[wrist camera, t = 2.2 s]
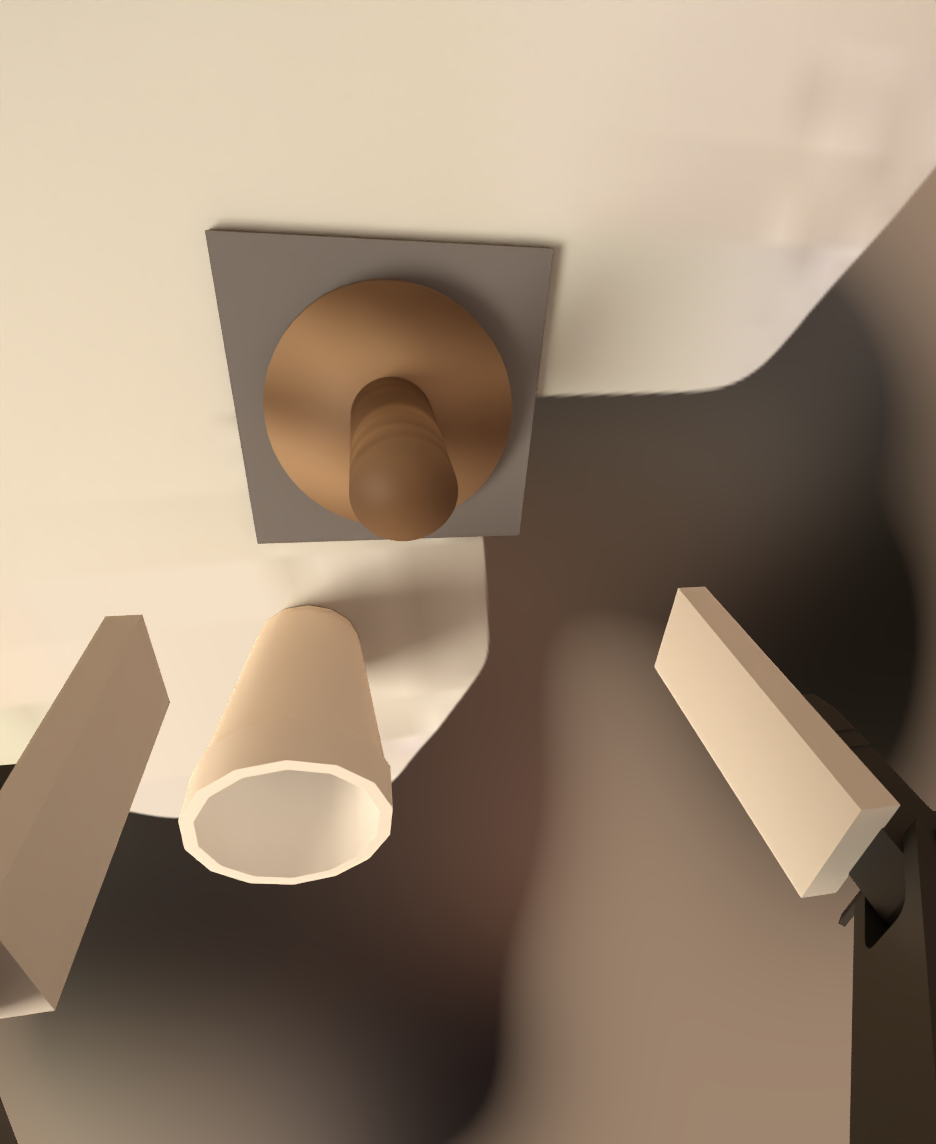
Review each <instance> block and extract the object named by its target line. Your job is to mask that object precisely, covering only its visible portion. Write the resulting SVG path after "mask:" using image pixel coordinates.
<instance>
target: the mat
mask: <svg viewBox="0 0 936 1144" xmlns="http://www.w3.org/2000/svg"><path fill="white" fill-rule="evenodd" d="M205 234H206V240H207V246H208V252H209V257H210V263H211V269H212V275H213V281H214V287H215V293H216V299H217V305H218V311H219V317H220V323H221V329H222V335H223V341H224V347H225V353H226V358H227V364H228V370H229V376H230V382H231V388H232V394H233V400H234V406H235V412H236V418H237V424H238V430H239V436H240V442H241V448H242V454H243V459H244V465H245V471H246V477H247V483H248V489H249V495H250V501H251V507H252V513H253V519H254V525H255V531H256V537H257V543H258V544H263V543H293V542H323V541H354V540H384V539H386V538H383V537H380V536H378V535H376V534H374V533H372V532H371V531H369V530H368V529H367V528H366V527H365V526H363V525H362V524H361V523H360V522H356V521H353V520H349V519H347V518H344V517H342V516H339V515H337V514H335V513H333V512H331V511H329V510H327V509H325V508H324V507H322V506H321V505H319V504H318V503H316V502H315V501H314V500H312V499H311V498H310V497H308V496H307V495H306V494H305V493H304V492H303V491H302V490H301V489H299V487H298V486H297V485H296V484H295V483H294V482H293V481H292V479H291V478H290V477H289V476H288V474H287V473H286V471H285V470H284V468H283V467H282V466H281V464H280V462H279V460H278V458H277V456H276V454H275V452H274V450H273V448H272V445H271V442H270V439H269V437H268V434H267V429H266V424H265V419H264V407H263V396H264V384H265V379H266V374H267V370H268V366H269V364H270V361H271V358H272V356H273V353H274V351H275V349H276V347H277V345H278V343H279V341H280V339H281V338H282V336H283V334H284V332H285V331H286V329H287V328H288V327H289V325H290V324H291V323H292V321H293V320H294V319H295V318H296V317H297V316H298V315H299V314H300V313H301V312H302V311H303V310H304V309H305V308H306V307H307V306H308V305H309V304H311V303H312V302H314V301H315V300H316V299H318V298H319V297H321V296H322V295H324V294H326V293H328V292H330V291H332V290H334V289H336V288H338V287H341V286H344V285H347V284H350V283H353V282H358V281H364V280H369V279H396V280H405V281H409V282H413V283H417V284H421V285H424V286H426V287H429V288H431V289H434V290H436V291H438V292H440V293H442V294H444V295H445V296H447V297H449V298H450V299H452V300H454V301H455V302H456V303H457V304H459V305H460V306H461V307H462V308H464V309H465V310H466V311H467V312H468V313H469V314H470V315H471V316H472V317H473V318H474V319H475V320H476V321H477V322H478V323H479V324H480V325H481V326H482V327H483V329H484V330H485V331H486V333H487V334H488V335H489V337H490V338H491V340H492V341H493V343H494V344H495V346H496V348H497V350H498V352H499V354H500V356H501V358H502V360H503V363H504V366H505V368H506V371H507V375H508V379H509V384H510V388H511V399H512V416H511V424H510V430H509V435H508V439H507V442H506V445H505V448H504V451H503V453H502V455H501V457H500V460H499V462H498V464H497V465H496V467H495V469H494V470H493V472H492V474H491V475H490V476H489V477H488V479H487V480H486V481H485V483H484V484H483V485H482V486H481V487H480V488H479V489H478V490H477V491H476V492H475V493H474V494H473V495H472V496H471V497H470V498H468V499H467V500H466V501H465V502H463V503H462V504H461V505H459V506H458V507H456V508H455V509H454V511H453V513H452V514H451V516H450V518H449V519H448V520H447V521H446V523H445V524H444V525H443V526H442V527H440V528H439V529H438V530H437V531H435V532H433V533H432V534H430V535H428V536H425V537H423V538H445V537H476V536H505V535H519V533H520V524H521V515H522V508H523V499H524V491H525V481H526V474H527V466H528V457H529V448H530V441H531V431H532V423H533V415H534V407H535V399H536V390H537V382H538V374H539V365H540V357H541V348H542V340H543V332H544V323H545V315H546V307H547V298H548V290H549V281H550V273H551V265H552V256H553V249H552V248H543V247H524V246H505V245H486V244H468V243H449V242H430V241H411V240H392V239H373V238H354V237H336V236H317V235H298V234H279V233H260V232H241V231H222V230H205Z"/></svg>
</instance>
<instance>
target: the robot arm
mask: <svg viewBox="0 0 936 1144" xmlns="http://www.w3.org/2000/svg"><path fill="white" fill-rule="evenodd" d="M655 668H656V670H657V672H658V673H659V675H660V676H661V678H662V679H663V681H664V683H665V684H666V686H667V687H668V689H669V690H670V692H671V694H672V695H673V697H674V698H675V700H676V702H677V703H678V705H679V706H680V708H681V709H682V711H683V712H684V714H685V716H686V717H687V719H688V720H689V722H690V723H691V725H692V727H693V728H694V730H695V731H696V733H697V735H698V736H699V738H700V739H701V741H702V742H703V744H704V745H705V747H706V749H707V750H708V752H709V753H710V755H711V757H712V758H713V760H714V761H715V763H716V764H717V766H718V768H719V769H720V771H721V772H722V774H723V776H724V777H725V779H726V780H727V782H728V783H729V785H730V787H731V788H732V790H733V791H734V793H735V794H736V796H737V798H738V799H739V800H740V802H741V804H742V805H743V807H744V808H745V810H746V812H747V813H748V815H749V816H750V818H751V819H752V821H753V823H754V824H755V826H756V827H757V829H758V830H759V832H760V834H761V835H762V837H763V839H764V840H765V842H766V843H767V845H768V846H769V848H770V850H771V851H772V853H773V854H774V856H775V857H776V859H777V861H778V862H779V864H780V865H781V867H782V868H783V870H784V872H785V873H786V875H787V876H788V878H789V879H790V881H791V883H792V884H793V886H794V887H795V889H796V890H797V892H798V894H799V895H800V897H801V898H804V897H810V896H817V895H823V894H830V893H836V892H837V891H838V889H839V888H840V886H841V885H842V884H843V882H844V881H845V880H846V878H847V877H848V876H849V875H850V876H851V878H852V879H853V881H854V882H855V883H856V885H857V886H858V887H859V889H860V891H859V893H858V894H857V895H856V896H855V898H854V899H853V900H852V902H851V903H850V904H849V905H848V907H847V908H846V909H845V910H844V912H843V913H842V915H841V918H840V920H839V924H841V925H843V926H846V925H847V923H848V922H849V921H850V919H851V918H852V917H853V916H854V957H853V1005H852V1007H853V1008H852V1056H851V1058H852V1059H851V1104H850V1105H851V1106H850V1144H936V811H932V810H931V809H930V808H929V807H928V806H927V805H926V804H925V803H924V802H923V801H922V800H921V799H920V798H919V797H918V795H917V794H916V793H915V792H914V791H913V790H912V789H911V788H910V787H909V786H908V785H907V784H906V783H905V782H904V781H903V780H902V778H901V777H900V776H899V775H898V774H897V773H896V772H895V771H894V770H893V769H892V768H891V767H890V766H889V765H888V764H887V762H886V761H885V760H884V759H883V758H882V757H881V756H880V755H879V754H878V753H877V752H876V751H875V750H874V749H871V748H870V744H869V743H868V742H867V741H866V740H865V739H864V738H863V737H862V736H861V735H860V734H859V733H856V732H855V728H854V727H852V725H851V724H850V723H849V722H848V721H847V720H846V719H845V718H844V717H843V716H842V715H841V714H840V712H839V711H838V710H836V709H835V708H833V707H832V706H830V705H829V704H827V703H826V702H825V701H823V700H822V699H820V698H819V697H817V696H816V695H814V694H811V695H801V693H800V692H799V691H798V690H797V689H796V688H795V687H794V686H793V685H792V683H791V682H790V681H789V680H788V679H787V678H786V677H785V676H784V675H783V673H782V672H781V671H780V670H779V669H778V668H777V667H776V666H775V664H774V663H773V662H772V661H771V660H770V659H769V658H768V657H767V656H766V655H765V653H764V652H763V651H762V650H761V649H760V648H759V647H758V646H757V644H756V643H755V642H754V641H753V640H752V639H751V638H750V637H749V636H748V634H747V633H746V632H745V631H744V630H743V629H742V628H741V627H740V625H739V624H738V623H737V622H736V621H735V620H734V619H733V618H732V617H731V615H730V614H729V613H728V612H727V611H726V610H725V609H724V608H723V607H722V605H721V604H720V603H719V602H718V601H717V600H716V599H715V598H714V596H713V595H712V594H711V593H710V592H709V591H708V590H707V589H706V588H705V587H692V588H678V591H677V594H676V598H675V601H674V605H673V607H672V611H671V615H670V617H669V620H668V624H667V627H666V630H665V634H664V637H663V640H662V644H661V647H660V650H659V653H658V657H657V660H656V664H655ZM169 703H170V701H169V698H168V695H167V692H166V688H165V685H164V682H163V679H162V676H161V673H160V669H159V666H158V663H157V660H156V657H155V654H154V650H153V647H152V644H151V641H150V638H149V634H148V631H147V628H146V625H145V622H144V619H143V615H127V616H107V617H105V618H104V620H103V622H102V623H101V625H100V626H99V628H98V630H97V631H96V633H95V635H94V636H93V638H92V640H91V641H90V643H89V645H88V646H87V648H86V650H85V651H84V653H83V655H82V656H81V658H80V659H79V661H78V663H77V664H76V666H75V668H74V669H73V671H72V673H71V674H70V676H69V678H68V679H67V681H66V683H65V684H64V686H63V688H62V689H61V691H60V693H59V694H58V696H57V697H56V699H55V701H54V702H53V704H52V706H51V707H50V709H49V711H48V712H47V714H46V716H45V717H44V719H43V721H42V722H41V724H40V726H39V727H38V729H37V731H36V732H35V734H34V735H33V737H32V739H31V740H30V742H29V744H28V745H27V747H26V749H25V750H24V752H23V754H22V755H21V757H20V759H19V760H18V762H17V764H12V765H0V1018H7V1017H14V1016H20V1015H27V1014H33V1013H40V1012H46V1011H53V1010H55V1008H56V1005H57V1002H58V1000H59V997H60V994H61V992H62V989H63V986H64V984H65V981H66V978H67V975H68V973H69V970H70V967H71V965H72V962H73V960H74V957H75V954H76V952H77V949H78V946H79V944H80V941H81V938H82V935H83V933H84V930H85V928H86V925H87V922H88V920H89V917H90V914H91V911H92V909H93V906H94V904H95V901H96V898H97V896H98V893H99V890H100V887H101V885H102V882H103V879H104V877H105V874H106V871H107V869H108V866H109V863H110V861H111V858H112V855H113V853H114V850H115V847H116V845H117V842H118V839H119V837H120V834H121V831H122V829H123V826H124V823H125V821H126V818H127V815H128V813H129V810H130V807H131V805H132V802H133V799H134V797H135V794H136V791H137V789H138V786H139V783H140V781H141V778H142V775H143V773H144V770H145V767H146V765H147V762H148V759H149V757H150V754H151V751H152V749H153V746H154V743H155V741H156V738H157V735H158V733H159V730H160V727H161V724H162V722H163V719H164V716H165V714H166V711H167V708H168V706H169ZM0 1144H18V1143H17V1140H16V1137H15V1136H14V1132H13V1130H12V1127H11V1124H10V1122H9V1119H8V1116H7V1114H6V1111H5V1108H4V1106H3V1103H2V1101H1V1098H0Z"/></svg>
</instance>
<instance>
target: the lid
mask: <svg viewBox="0 0 936 1144" xmlns="http://www.w3.org/2000/svg"><path fill="white" fill-rule="evenodd" d="M263 407H264V419H265V424H266V429H267V434H268V437H269V439H270V442H271V445H272V448H273V450H274V452H275V454H276V456H277V458H278V460H279V462H280V464H281V466H282V467H283V468H284V470H285V471H286V473H287V474H288V476H289V477H290V478H291V479H292V481H293V482H294V483H295V484H296V485H297V486H298V487H299V489H301V490H302V491H303V492H304V493H305V494H306V495H307V496H308V497H310V498H311V499H312V500H314V501H315V502H316V503H318V504H319V505H321V506H322V507H324V508H325V509H327V510H329V511H331V512H333V513H335V514H337V515H339V516H342V517H344V518H347V519H349V520H353V521H356V522H360V523H361V524H362V525H363V526H365V527H366V528H367V529H368V530H369V531H371V532H372V533H374V534H376V535H378V536H380V537H383V538H386V539H390V540H396V541H410V540H416V539H420V538H423V537H425V536H428V535H430V534H432V533H433V532H435V531H437V530H438V529H439V528H440V527H442V526H443V525H444V524H445V523H446V521H447V520H448V519H449V518H450V516H451V514H452V513H453V511H454V509H455V508H456V507H458V506H459V505H461V504H462V503H463V502H465V501H466V500H467V499H468V498H470V497H471V496H472V495H473V494H474V493H475V492H476V491H477V490H478V489H479V488H480V487H481V486H482V485H483V484H484V483H485V481H486V480H487V479H488V477H489V476H490V475H491V474H492V472H493V470H494V469H495V467H496V465H497V464H498V462H499V460H500V457H501V455H502V453H503V451H504V448H505V445H506V442H507V439H508V435H509V430H510V424H511V416H512V399H511V388H510V384H509V379H508V375H507V371H506V368H505V366H504V363H503V360H502V358H501V356H500V354H499V352H498V350H497V348H496V346H495V344H494V343H493V341H492V340H491V338H490V337H489V335H488V334H487V333H486V331H485V330H484V329H483V327H482V326H481V325H480V324H479V323H478V322H477V321H476V320H475V319H474V318H473V317H472V316H471V315H470V314H469V313H468V312H467V311H466V310H465V309H464V308H462V307H461V306H460V305H459V304H457V303H456V302H455V301H454V300H452V299H450V298H449V297H447V296H445V295H444V294H442V293H440V292H438V291H436V290H434V289H431V288H429V287H426V286H424V285H421V284H417V283H413V282H409V281H405V280H396V279H369V280H364V281H358V282H353V283H350V284H347V285H344V286H341V287H338V288H336V289H334V290H332V291H330V292H328V293H326V294H324V295H322V296H321V297H319V298H318V299H316V300H315V301H314V302H312V303H311V304H309V305H308V306H307V307H306V308H305V309H304V310H303V311H302V312H301V313H300V314H299V315H298V316H297V317H296V318H295V319H294V320H293V321H292V323H291V324H290V325H289V327H288V328H287V329H286V331H285V332H284V334H283V336H282V338H281V339H280V341H279V343H278V345H277V347H276V349H275V351H274V353H273V356H272V358H271V361H270V364H269V366H268V370H267V374H266V379H265V384H264V396H263Z"/></svg>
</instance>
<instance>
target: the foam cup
mask: <svg viewBox="0 0 936 1144" xmlns="http://www.w3.org/2000/svg"><path fill="white" fill-rule="evenodd" d="M392 809H393V807H392V790H391V772H390V766H389V764H388V763H387V761H386V760H385V758H384V754H383V750H382V745H381V740H380V735H379V731H378V726H377V721H376V716H375V712H374V707H373V702H372V698H371V693H370V688H369V683H368V679H367V674H366V669H365V664H364V660H363V655H362V650H361V646H360V642H359V640H358V635H357V633H356V631H355V630H354V628H353V626H352V625H351V623H350V621H349V620H347V619H346V618H344V617H343V616H341V615H340V614H338V613H336V612H335V611H333V610H332V609H327V608H322V607H317V606H311V605H305V606H299V607H293V608H287V609H284V610H283V611H281V612H279V613H278V614H276V615H275V616H273V617H271V618H270V619H268V620H267V622H266V623H265V625H264V627H263V629H262V630H261V632H260V634H259V636H258V638H257V640H256V642H255V644H254V646H253V648H252V650H251V653H250V655H249V657H248V659H247V662H246V664H245V666H244V668H243V671H242V673H241V675H240V677H239V680H238V682H237V684H236V686H235V689H234V691H233V693H232V695H231V698H230V700H229V702H228V704H227V707H226V709H225V711H224V713H223V716H222V718H221V720H220V722H219V725H218V727H217V729H216V731H215V734H214V736H213V738H212V740H211V743H210V745H209V747H208V748H207V750H206V751H205V753H204V755H203V756H202V758H201V760H200V761H199V763H198V765H197V767H196V768H195V770H194V772H193V773H192V775H191V778H190V781H189V785H188V789H187V792H186V796H185V799H184V803H183V806H182V810H181V813H180V817H179V820H178V821H179V826H180V831H181V834H182V840H183V844H184V848H185V850H186V851H188V852H189V853H190V854H191V855H192V856H193V857H195V858H196V859H197V860H198V861H199V862H201V863H202V864H203V865H204V866H206V867H207V868H208V869H209V870H210V871H213V872H216V873H219V874H222V875H226V876H229V877H232V878H235V879H238V880H242V881H245V882H248V883H266V884H298V883H303V882H308V881H312V880H317V879H322V878H327V877H331V876H336V875H338V874H340V873H341V872H343V871H346V870H347V869H349V868H351V867H353V866H355V865H357V864H359V863H361V862H363V861H365V860H367V859H369V858H370V857H371V856H372V855H373V853H374V852H375V851H376V850H377V849H378V848H379V847H380V845H381V844H382V843H383V842H384V841H385V840H386V839H387V837H388V836H389V835H390V828H391V818H392Z"/></svg>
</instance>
